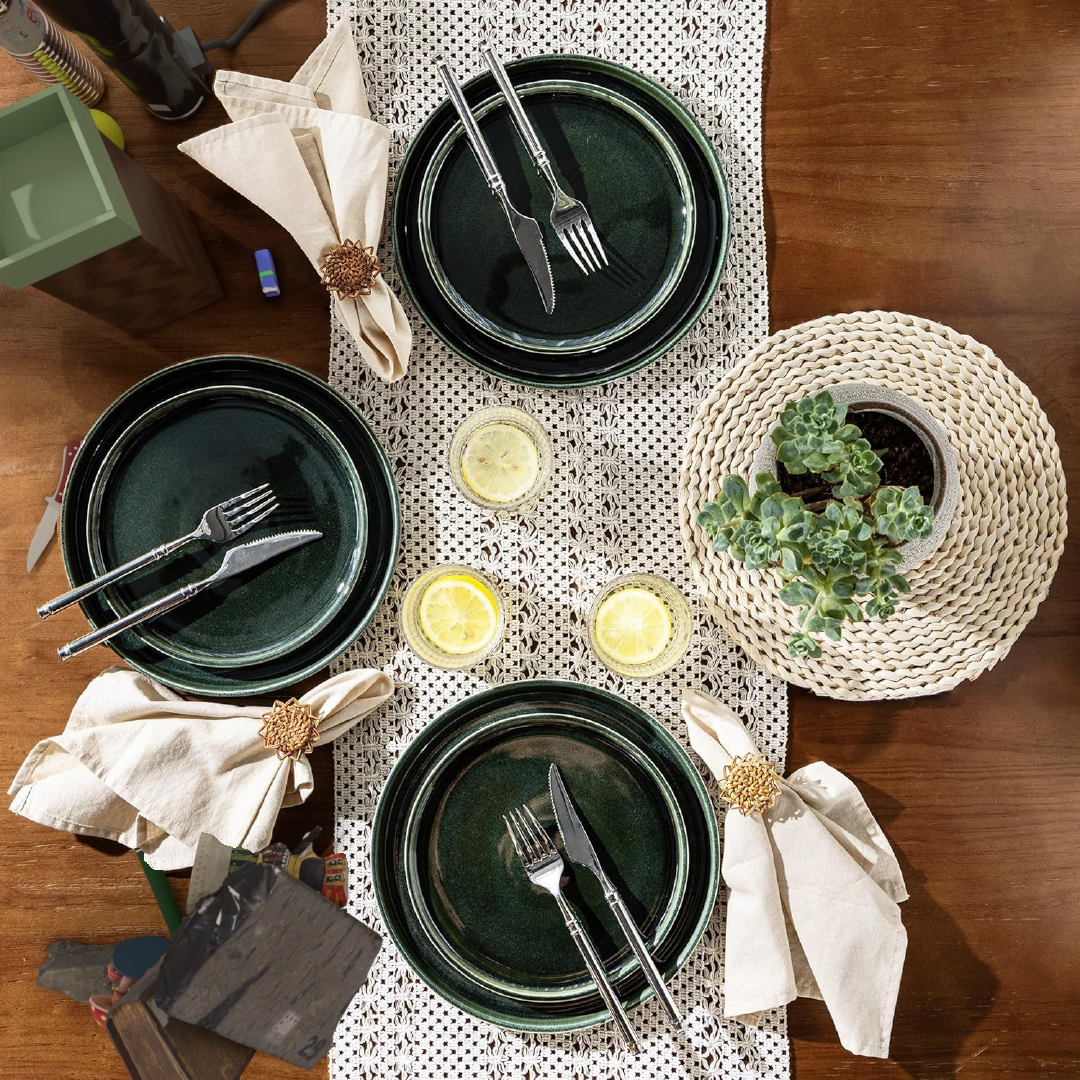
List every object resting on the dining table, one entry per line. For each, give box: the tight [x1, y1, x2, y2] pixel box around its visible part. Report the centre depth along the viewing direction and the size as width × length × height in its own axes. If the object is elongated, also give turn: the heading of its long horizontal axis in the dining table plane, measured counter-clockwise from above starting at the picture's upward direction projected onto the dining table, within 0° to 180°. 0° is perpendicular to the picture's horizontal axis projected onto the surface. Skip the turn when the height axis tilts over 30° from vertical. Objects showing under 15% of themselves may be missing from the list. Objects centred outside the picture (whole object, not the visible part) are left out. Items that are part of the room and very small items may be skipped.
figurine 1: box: [88, 935, 172, 1030], centre depth 106 cm, size 12×9×8 cm
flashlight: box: [134, 848, 187, 938], centre depth 112 cm, size 5×5×20 cm
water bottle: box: [0, 0, 106, 109], centre depth 103 cm, size 7×7×25 cm
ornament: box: [89, 108, 125, 151], centre depth 110 cm, size 7×7×10 cm
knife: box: [26, 440, 84, 575], centre depth 114 cm, size 20×1×3 cm
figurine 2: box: [185, 825, 350, 915], centre depth 109 cm, size 12×15×20 cm
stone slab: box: [154, 862, 384, 1072], centre depth 101 cm, size 18×9×30 cm
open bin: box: [0, 82, 142, 291], centre depth 88 cm, size 16×16×5 cm
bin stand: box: [29, 128, 225, 337], centre depth 102 cm, size 14×14×24 cm
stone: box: [35, 939, 134, 1006], centre depth 110 cm, size 18×9×10 cm
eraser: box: [254, 248, 281, 298], centre depth 113 cm, size 2×6×2 cm
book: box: [105, 953, 258, 1080], centre depth 101 cm, size 17×7×25 cm, turn 25°
